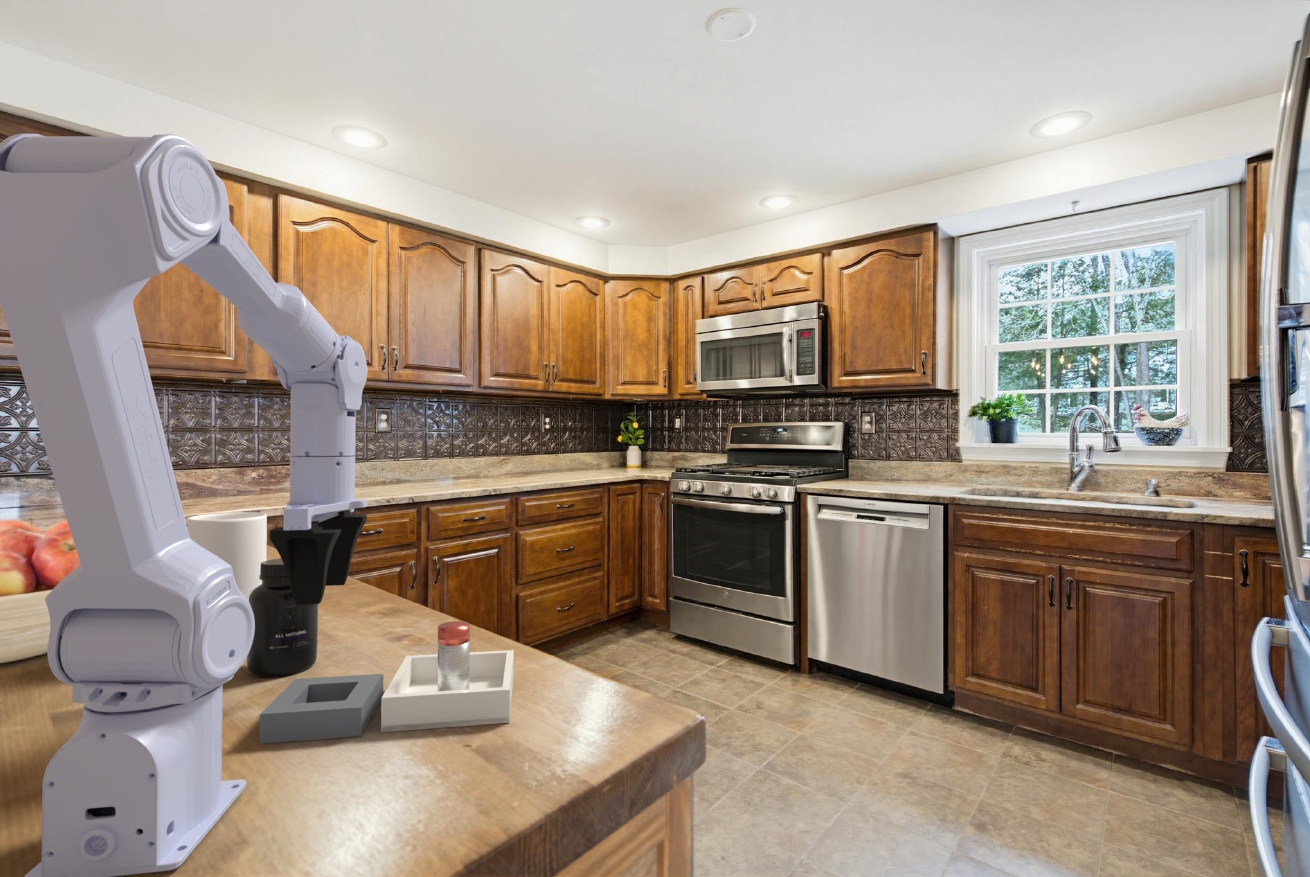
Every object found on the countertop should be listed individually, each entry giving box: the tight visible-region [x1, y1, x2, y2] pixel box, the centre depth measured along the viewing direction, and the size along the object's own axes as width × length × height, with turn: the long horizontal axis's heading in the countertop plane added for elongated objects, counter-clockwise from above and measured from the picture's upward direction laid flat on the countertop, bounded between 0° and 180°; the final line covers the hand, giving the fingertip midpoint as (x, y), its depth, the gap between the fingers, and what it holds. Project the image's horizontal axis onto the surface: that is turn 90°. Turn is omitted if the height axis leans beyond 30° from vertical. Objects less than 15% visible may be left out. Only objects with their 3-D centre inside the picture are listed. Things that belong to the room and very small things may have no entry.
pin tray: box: [380, 649, 515, 733], centre depth 62 cm, size 11×11×3 cm
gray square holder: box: [259, 673, 384, 745], centre depth 58 cm, size 8×8×2 cm
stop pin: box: [437, 620, 471, 691], centre depth 62 cm, size 3×3×7 cm
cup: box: [186, 511, 268, 601], centre depth 79 cm, size 8×8×16 cm
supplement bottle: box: [246, 557, 319, 678], centre depth 71 cm, size 7×7×12 cm
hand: (322, 593), depth 62 cm, fingers open, 7 cm apart
